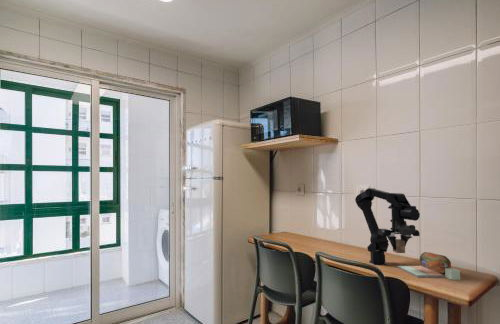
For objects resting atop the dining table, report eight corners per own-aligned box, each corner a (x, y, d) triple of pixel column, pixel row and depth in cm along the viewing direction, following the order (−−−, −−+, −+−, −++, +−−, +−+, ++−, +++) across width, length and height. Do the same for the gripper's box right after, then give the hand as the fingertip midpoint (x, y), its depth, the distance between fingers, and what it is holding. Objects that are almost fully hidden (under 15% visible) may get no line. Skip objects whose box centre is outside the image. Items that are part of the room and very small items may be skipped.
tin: (419, 266, 152) (419, 250, 152) (424, 266, 153) (423, 250, 153) (448, 275, 137) (447, 257, 138) (452, 274, 139) (452, 256, 139)
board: (417, 277, 133) (417, 275, 133) (397, 267, 150) (397, 265, 150) (444, 277, 134) (444, 275, 134) (421, 267, 151) (421, 265, 151)
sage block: (451, 279, 131) (451, 270, 131) (445, 277, 135) (445, 268, 135) (460, 279, 131) (459, 270, 131) (453, 277, 135) (453, 268, 135)
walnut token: (397, 253, 141) (396, 240, 142) (392, 251, 145) (392, 239, 146) (405, 253, 142) (404, 240, 142) (400, 251, 146) (400, 239, 146)
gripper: (388, 220, 136) (389, 253, 135) (426, 220, 137) (427, 253, 136) (376, 217, 148) (377, 248, 146) (412, 217, 148) (413, 248, 147)
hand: (398, 249), depth 144 cm, fingers closed on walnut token, 4 cm apart
